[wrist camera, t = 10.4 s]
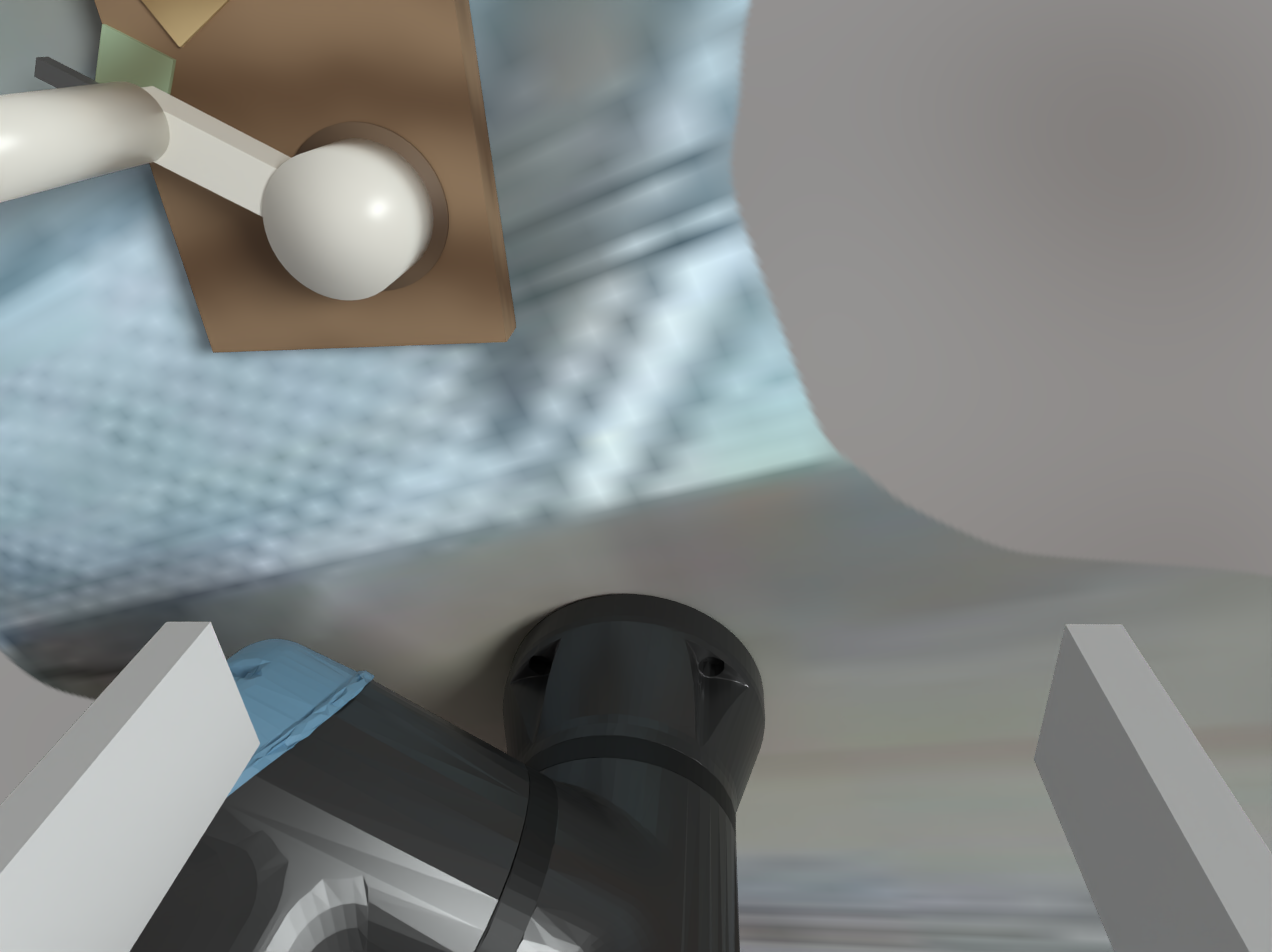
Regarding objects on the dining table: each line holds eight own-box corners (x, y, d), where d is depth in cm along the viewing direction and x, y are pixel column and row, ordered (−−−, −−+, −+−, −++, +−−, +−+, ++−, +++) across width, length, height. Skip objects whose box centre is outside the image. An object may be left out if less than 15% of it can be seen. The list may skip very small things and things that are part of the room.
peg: (452, 181, 33) (343, 250, 24) (408, 299, 36) (294, 405, 26) (91, -11, 31) (-192, -21, 21) (72, 131, 34) (-188, 179, 24)
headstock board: (516, 326, 39) (505, 343, 37) (199, 339, 40) (173, 355, 38) (436, -222, 29) (415, -238, 27) (23, -174, 31) (-24, -186, 29)
